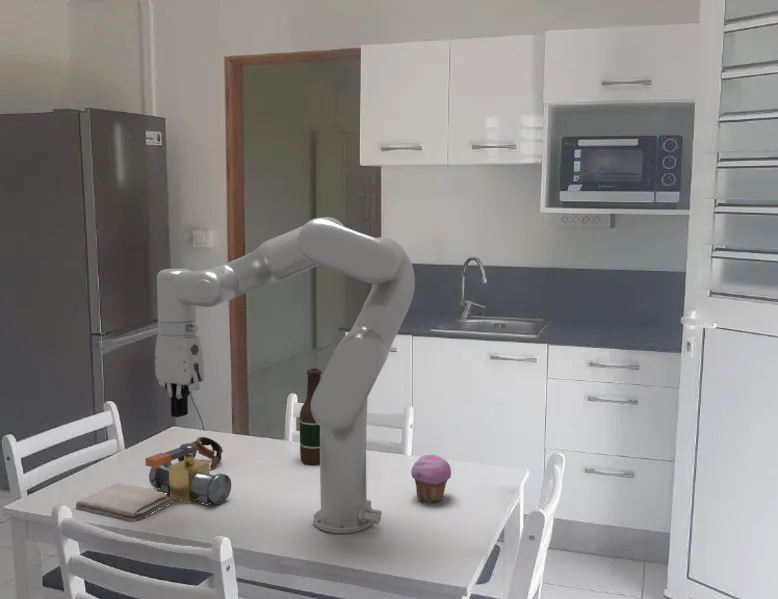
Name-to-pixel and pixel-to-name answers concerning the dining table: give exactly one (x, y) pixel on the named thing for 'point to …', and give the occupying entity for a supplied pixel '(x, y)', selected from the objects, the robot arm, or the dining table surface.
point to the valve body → (191, 481)
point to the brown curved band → (207, 450)
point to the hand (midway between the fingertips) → (179, 415)
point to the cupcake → (431, 477)
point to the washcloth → (124, 501)
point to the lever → (171, 455)
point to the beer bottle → (310, 424)
